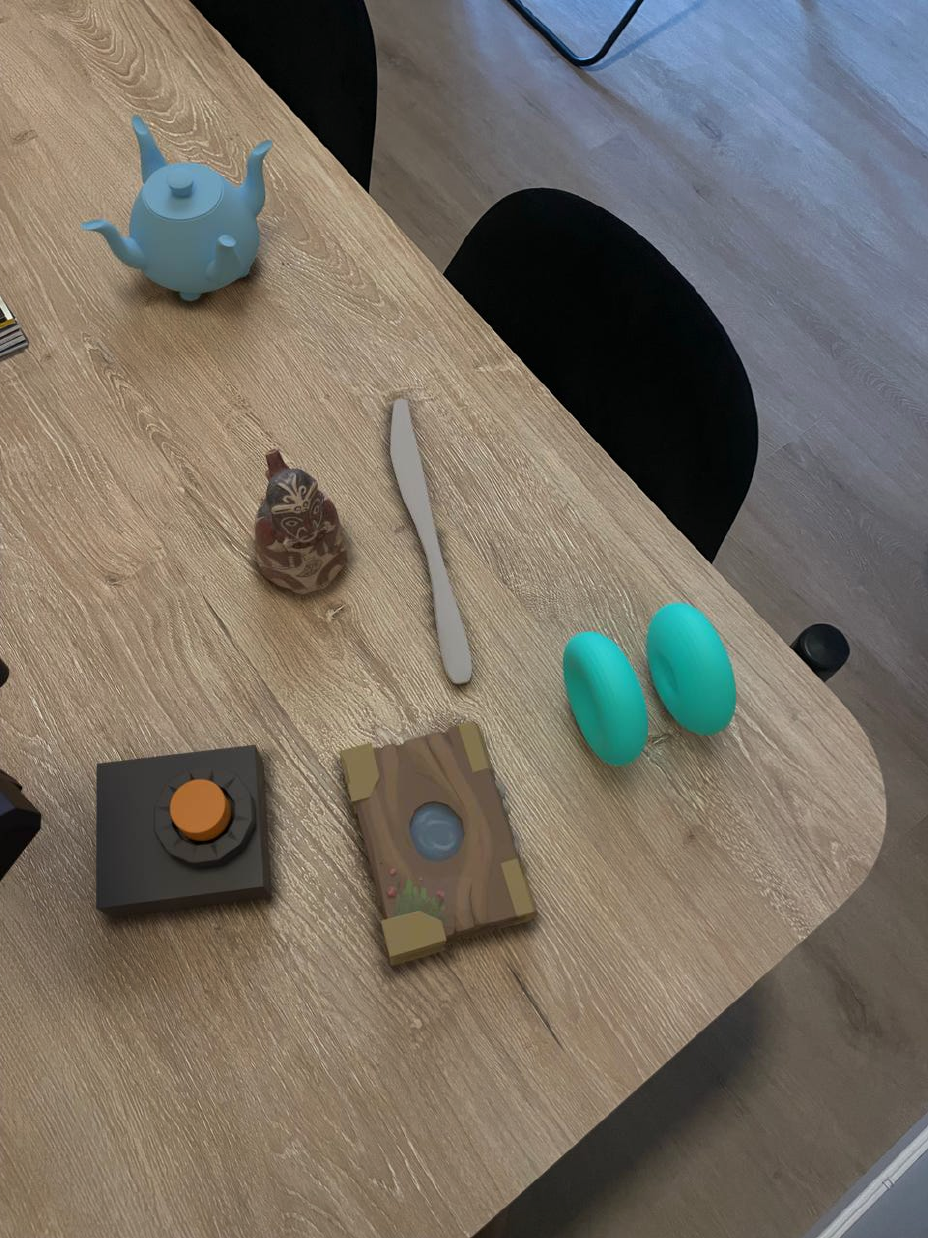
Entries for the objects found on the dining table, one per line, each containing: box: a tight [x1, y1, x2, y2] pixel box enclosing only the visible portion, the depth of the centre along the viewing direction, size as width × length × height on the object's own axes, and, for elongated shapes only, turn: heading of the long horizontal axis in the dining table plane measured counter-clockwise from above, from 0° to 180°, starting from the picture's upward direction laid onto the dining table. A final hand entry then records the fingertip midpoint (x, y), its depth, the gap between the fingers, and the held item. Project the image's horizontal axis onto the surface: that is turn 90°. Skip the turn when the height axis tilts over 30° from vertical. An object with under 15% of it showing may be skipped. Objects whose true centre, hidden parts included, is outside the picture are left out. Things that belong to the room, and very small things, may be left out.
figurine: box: [253, 447, 348, 595], centre depth 82 cm, size 7×7×12 cm
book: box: [339, 720, 539, 967], centre depth 75 cm, size 15×11×5 cm
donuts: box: [562, 602, 737, 767], centre depth 78 cm, size 10×10×10 cm
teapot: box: [80, 114, 274, 302], centre depth 95 cm, size 13×13×10 cm
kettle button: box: [170, 779, 231, 841], centre depth 71 cm, size 4×4×2 cm
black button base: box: [95, 744, 273, 920], centre depth 74 cm, size 11×10×6 cm
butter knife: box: [389, 398, 473, 685], centre depth 88 cm, size 1×27×3 cm
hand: (15, 791), depth 66 cm, fingers closed
